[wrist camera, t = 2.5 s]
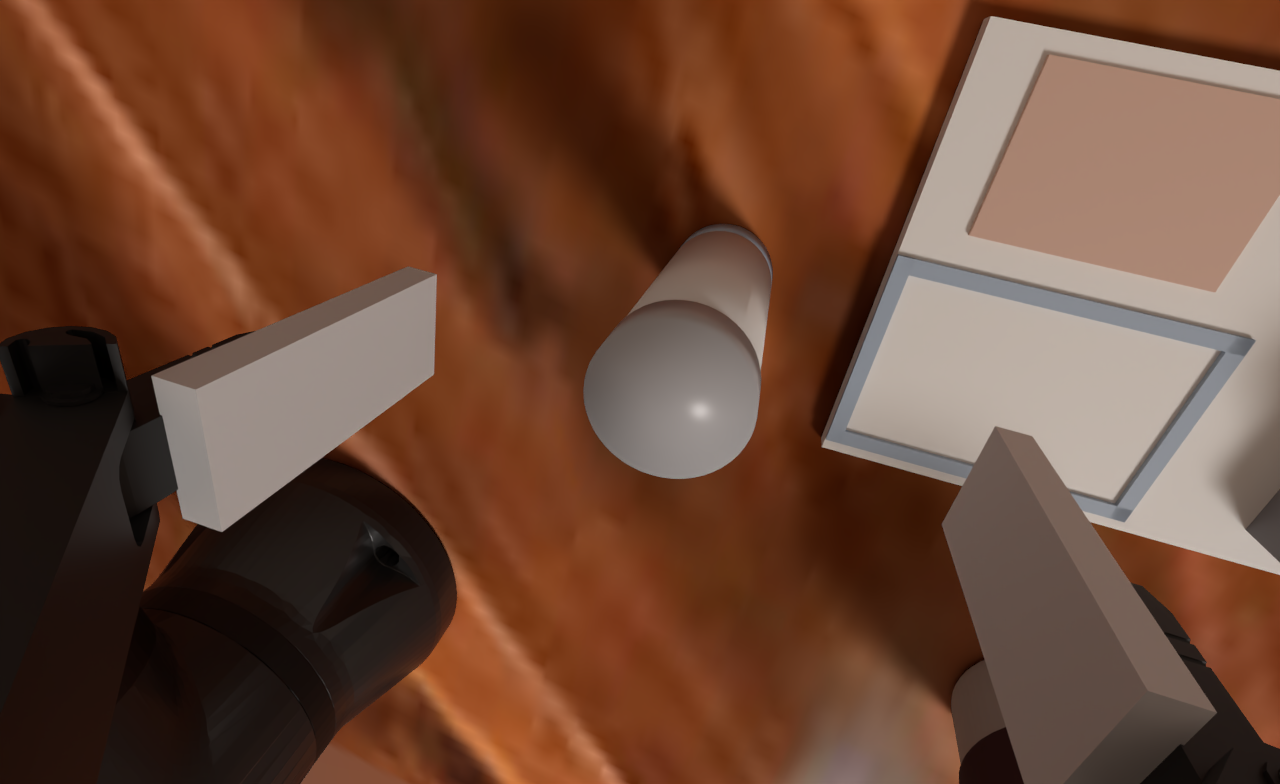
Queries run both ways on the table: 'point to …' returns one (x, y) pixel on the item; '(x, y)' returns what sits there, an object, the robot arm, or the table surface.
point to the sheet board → (1091, 289)
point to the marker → (687, 359)
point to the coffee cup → (982, 731)
